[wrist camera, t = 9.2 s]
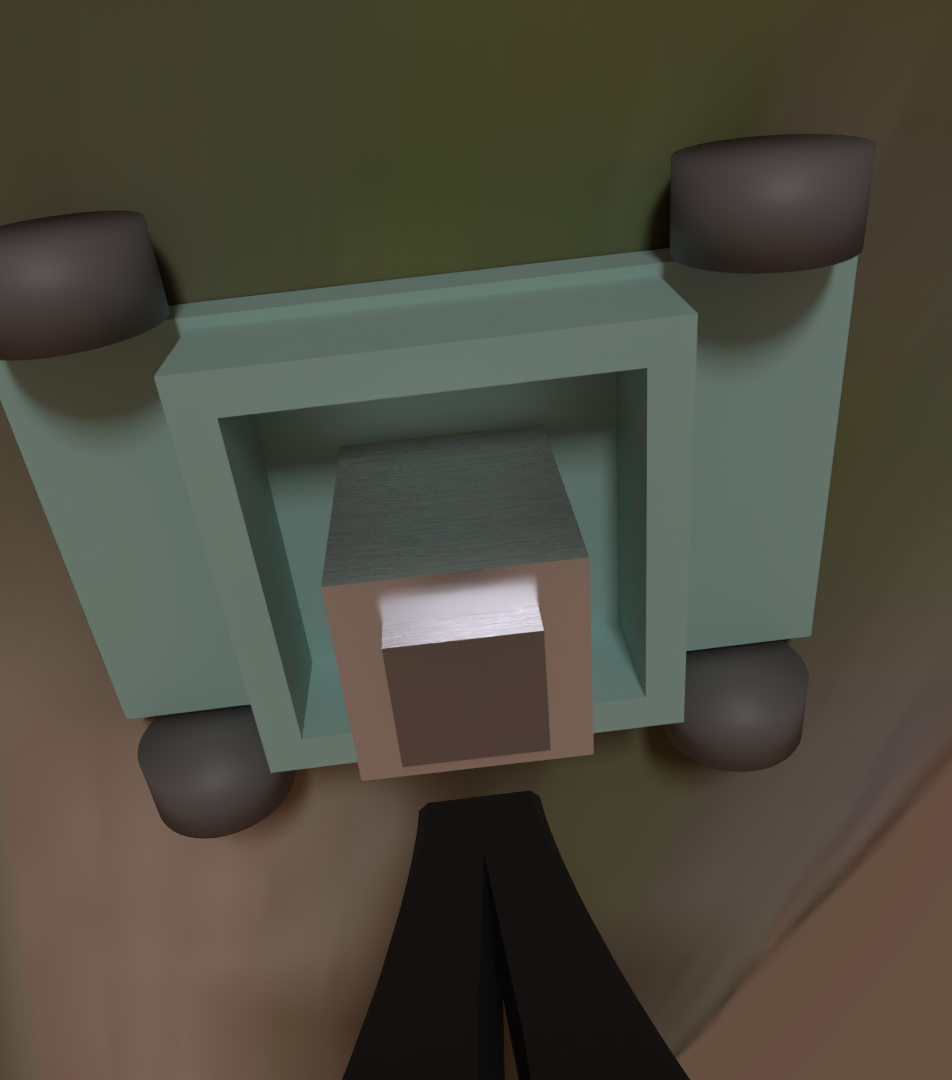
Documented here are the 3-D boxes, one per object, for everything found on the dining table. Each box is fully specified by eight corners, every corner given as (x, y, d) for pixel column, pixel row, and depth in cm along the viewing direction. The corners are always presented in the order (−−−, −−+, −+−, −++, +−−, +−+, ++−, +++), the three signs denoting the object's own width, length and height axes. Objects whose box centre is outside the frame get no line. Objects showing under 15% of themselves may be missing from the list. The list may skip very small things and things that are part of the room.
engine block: (542, 424, 17) (597, 579, 13) (551, 592, 19) (600, 779, 15) (340, 446, 17) (318, 610, 13) (370, 612, 19) (360, 807, 15)
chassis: (847, 125, 16) (952, 150, 13) (788, 669, 22) (847, 769, 19) (-39, 226, 16) (-142, 274, 13) (158, 746, 22) (120, 860, 19)
